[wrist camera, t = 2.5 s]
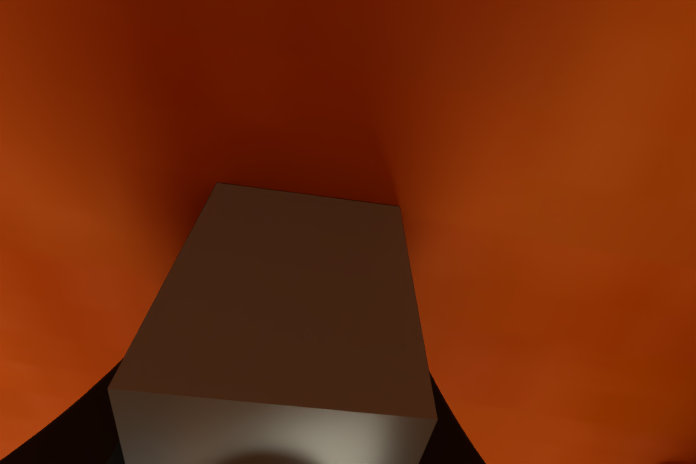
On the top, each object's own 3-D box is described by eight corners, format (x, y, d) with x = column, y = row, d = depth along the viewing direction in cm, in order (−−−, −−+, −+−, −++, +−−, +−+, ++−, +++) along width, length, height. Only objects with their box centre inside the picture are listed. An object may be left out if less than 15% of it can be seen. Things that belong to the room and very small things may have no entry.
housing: (399, 206, 11) (448, 475, 6) (356, 381, 15) (360, 646, 10) (216, 182, 11) (78, 444, 5) (219, 368, 15) (140, 634, 9)
